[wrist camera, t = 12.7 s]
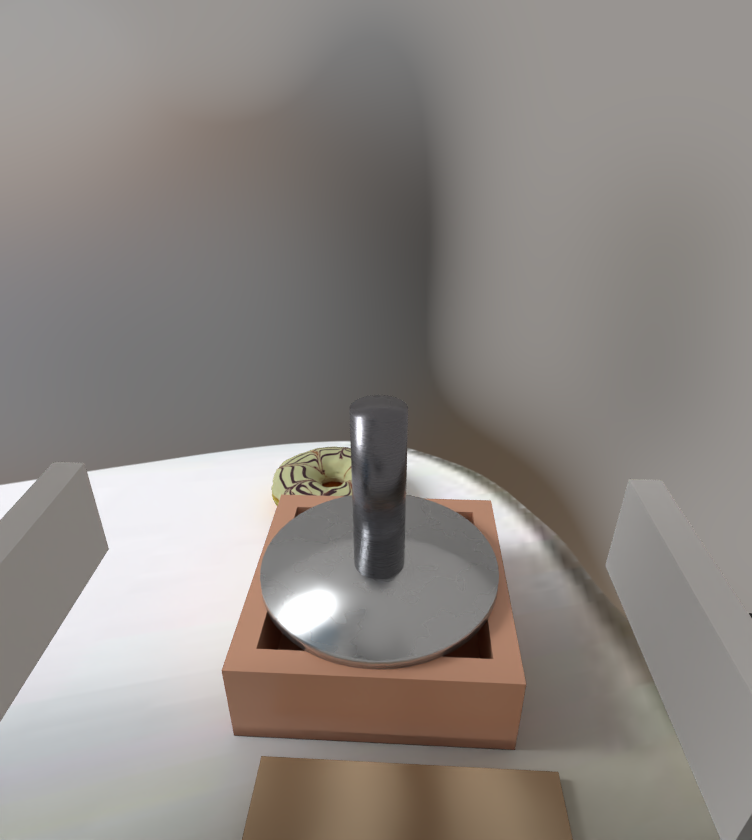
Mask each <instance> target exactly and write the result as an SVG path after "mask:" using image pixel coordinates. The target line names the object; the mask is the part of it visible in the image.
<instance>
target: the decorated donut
mask: <svg viewBox="0 0 752 840" xmlns="http://www.w3.org/2000/svg"><path fill="white" fill-rule="evenodd" d="M281 495H315V496H350V495H352V472H351V448H347V447H325V448H317V449H313V450H310V451H307V452H305V453H301V454H299V455H296V456H294V457H292V458H290V459H288V460H286V461H284V462H283V463H282V464H281V466H280V467H279V468H278V469H277V470H276V473H275V475H274V478H273V486H272V497H273V500H274V502H275V504H276V505H277V506H278V503H279V500H280V497H281Z"/></svg>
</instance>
